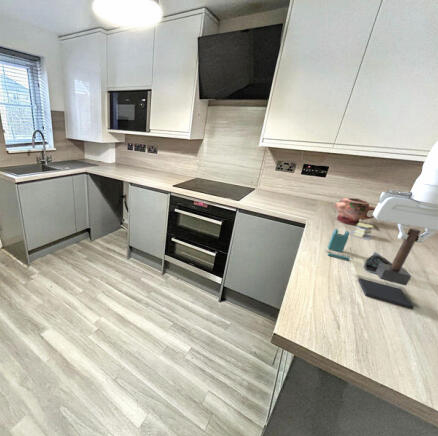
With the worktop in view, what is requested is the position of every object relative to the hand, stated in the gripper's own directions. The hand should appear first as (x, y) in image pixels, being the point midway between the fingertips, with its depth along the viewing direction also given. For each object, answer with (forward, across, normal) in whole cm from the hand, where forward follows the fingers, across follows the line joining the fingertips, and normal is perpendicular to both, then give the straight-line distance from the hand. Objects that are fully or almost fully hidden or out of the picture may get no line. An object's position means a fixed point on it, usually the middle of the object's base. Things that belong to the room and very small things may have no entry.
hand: (410, 240), depth 70 cm
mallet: (+11, 0, +5) cm, 12 cm away
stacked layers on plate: (+20, +6, +59) cm, 62 cm away
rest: (+20, -9, +26) cm, 34 cm away
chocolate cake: (+20, +4, +18) cm, 27 cm away
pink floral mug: (+20, +5, +79) cm, 82 cm away
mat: (+20, 0, 0) cm, 20 cm away
